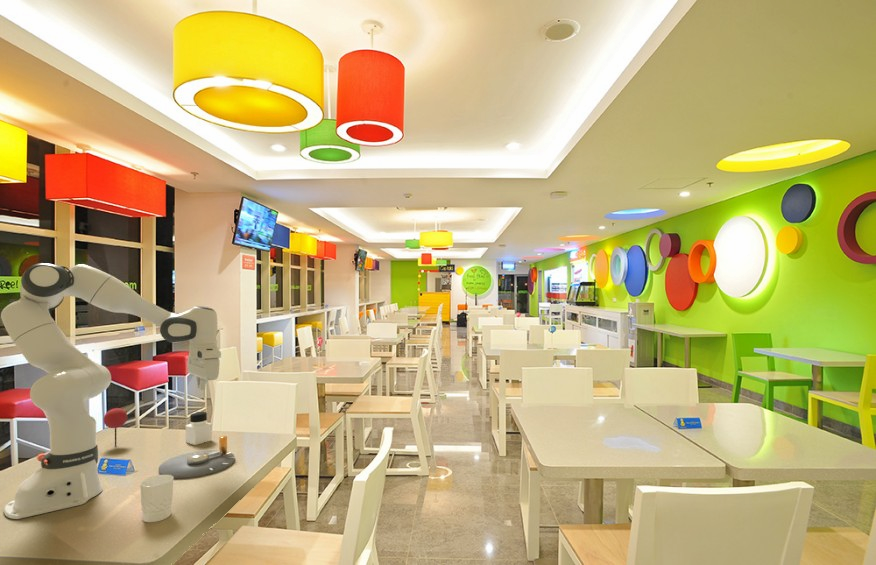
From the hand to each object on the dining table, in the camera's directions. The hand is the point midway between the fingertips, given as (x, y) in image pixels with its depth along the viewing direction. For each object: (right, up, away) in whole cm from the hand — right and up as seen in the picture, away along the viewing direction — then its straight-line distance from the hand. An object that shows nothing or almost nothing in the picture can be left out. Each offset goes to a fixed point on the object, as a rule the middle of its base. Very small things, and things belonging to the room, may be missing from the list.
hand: (201, 389), depth 170 cm
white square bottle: (-13, -27, +23) cm, 37 cm away
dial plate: (+1, -26, -3) cm, 27 cm away
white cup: (+9, -26, -41) cm, 49 cm away
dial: (+3, -25, -1) cm, 25 cm away
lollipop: (-43, -27, +18) cm, 54 cm away
